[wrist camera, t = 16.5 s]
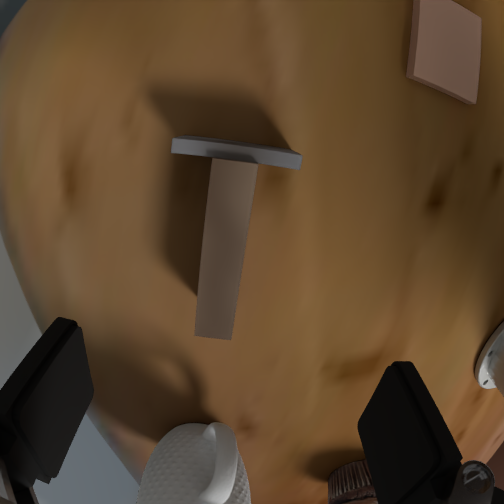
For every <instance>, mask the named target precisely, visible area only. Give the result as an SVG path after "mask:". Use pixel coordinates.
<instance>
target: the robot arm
mask: <svg viewBox="0 0 504 504" xmlns="http://www.w3.org/2000/svg"><path fill="white" fill-rule="evenodd" d="M475 378H476V380H477V382H478V383H479V385H480V386H481V387H483V388H485V389H491V388H496V387H497V388H498V390H499V391H500V392H501V394H502V395H503V397H504V321H503V322H502V324H501V325H500V326H499V327H498V328H497V329H496V331H495V332H494V333H493V334H492V336H491V337H490V339H489V340H488V341H487V343H486V345H485V346H484V348H483V350H482V352H481V354H480V356H479V358H478V361H477V364H476V368H475ZM93 393H94V389H93V384H92V379H91V375H90V370H89V365H88V360H87V355H86V350H85V344H84V339H83V333H82V329H81V327H78V325H77V322H76V321H74V320H70V319H66V318H62V317H58V318H57V319H55V321H54V322H53V323H52V324H51V325H50V327H49V328H48V329H47V330H46V331H45V333H44V334H43V335H42V336H41V338H40V339H39V340H38V341H37V343H36V344H35V345H34V346H33V348H32V349H31V350H30V351H29V353H28V354H27V355H26V356H25V358H24V359H23V360H22V362H21V363H20V364H19V366H18V367H17V368H16V369H15V371H14V372H13V373H12V375H11V376H10V377H9V379H8V380H7V382H6V383H5V384H4V386H3V387H2V388H1V390H0V504H39V503H38V500H37V497H36V495H35V492H34V489H33V484H34V482H35V480H36V479H38V480H40V481H43V482H45V483H47V484H49V483H50V480H51V478H55V477H56V476H57V475H58V473H59V470H60V468H61V466H62V464H63V461H64V459H65V457H66V454H67V452H68V450H69V447H70V445H71V443H72V440H73V438H74V436H75V434H76V432H77V429H78V427H79V425H80V423H81V421H82V419H83V417H84V415H85V412H86V410H87V408H88V406H89V404H90V402H91V400H92V397H93ZM358 432H359V435H360V439H361V442H362V446H363V449H364V453H365V457H366V460H367V464H368V467H369V471H370V475H371V478H372V482H373V486H374V490H375V494H376V497H377V501H378V504H504V491H503V490H501V489H499V488H497V487H495V486H494V485H495V479H494V475H493V473H492V471H491V469H490V468H489V467H488V466H487V465H486V464H484V463H482V462H480V461H476V460H471V461H467V462H465V463H464V464H463V465H462V464H461V462H460V461H461V459H462V458H463V457H462V455H461V453H460V451H459V449H458V447H457V445H456V443H455V441H454V439H453V437H452V435H451V433H450V431H449V429H448V427H447V425H446V423H445V421H444V419H443V417H442V415H441V413H440V411H439V410H438V408H437V406H436V404H435V402H434V400H433V398H432V397H431V395H430V393H429V391H428V389H427V387H426V386H425V384H424V382H423V380H422V378H421V377H420V375H419V373H418V371H417V369H416V368H415V366H414V364H413V363H412V362H410V361H395V362H393V363H392V364H391V366H388V367H387V368H386V370H385V372H384V374H383V376H382V378H381V380H380V382H379V384H378V386H377V388H376V390H375V392H374V393H373V395H372V397H371V399H370V401H369V403H368V405H367V406H366V408H365V410H364V412H363V413H362V415H361V417H360V419H359V421H358Z"/></svg>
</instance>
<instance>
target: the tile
mask: <svg viewBox="0 0 504 504" xmlns="http://www.w3.org/2000/svg"><path fill="white" fill-rule="evenodd" d="M480 56H481V18H480V17H479V16H477V15H476V14H474V13H472V12H471V11H469V10H467V9H466V8H464V7H462V6H461V5H459V4H457V3H455V2H454V1H452V0H413V14H412V27H411V38H410V47H409V56H408V64H407V72H406V77H407V78H410V79H413V80H415V81H418V82H420V83H422V84H425V85H427V86H430V87H432V88H434V89H436V90H439V91H441V92H443V93H445V94H448V95H450V96H452V97H454V98H456V99H458V100H460V101H462V102H464V103H466V104H476V100H477V92H478V82H479V71H480Z"/></svg>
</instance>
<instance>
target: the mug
mask: <svg viewBox="0 0 504 504" xmlns="http://www.w3.org/2000/svg"><path fill="white" fill-rule="evenodd" d="M136 504H251V500H250V489H249V481H248V478H247V474H246V470H245V467H244V463H243V461H242V458H241V455H240V454H239V451H238V449H237V442H236V437H235V434H234V432H233V430H232V429H231V428H230V427H229V426H228V425H226V424H224V423H220V422H213V423H211V424H209V425H206V424H200V423H188V424H183V425H180V426H177V427H175V428H174V429H172V430H171V431H169V432H168V433H167V434H166V435H165V436H164V437H163V438H162V439H161V440H160V441H159V443H158V444H157V446H156V447H155V448H154V451H153V453H152V454H151V456H150V458H149V460H148V462H147V464H146V468H145V470H144V473H143V477H142V479H141V483H140V489H139V491H138V498H137V502H136Z"/></svg>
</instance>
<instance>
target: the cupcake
mask: <svg viewBox="0 0 504 504" xmlns="http://www.w3.org/2000/svg"><path fill="white" fill-rule="evenodd" d="M328 504H378V501H377V497H376V494H375V490H374V486H373V482H372V478H371V475H370V471H369V467H368V464H367V460H366V459H365V460H362V461H356V462H352V463H349V464H347V465H344V466H341V467H340V468H338V469H336V470H335V471H334V472H332V473H331V475H330V477H329V479H328Z"/></svg>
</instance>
